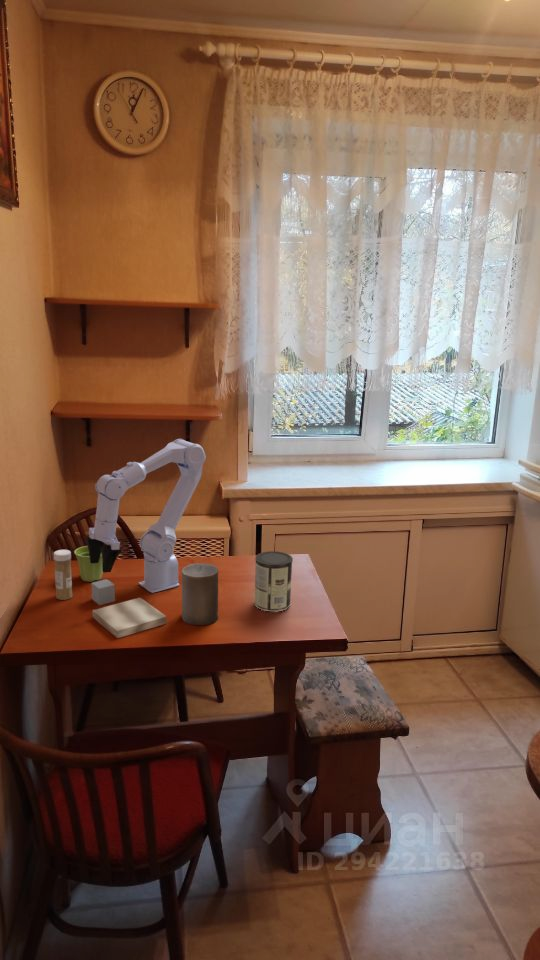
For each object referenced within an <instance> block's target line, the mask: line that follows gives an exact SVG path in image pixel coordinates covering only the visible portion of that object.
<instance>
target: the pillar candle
mask: <svg viewBox="0 0 540 960" xmlns="http://www.w3.org/2000/svg"><path fill="white" fill-rule="evenodd" d="M218 612H219V569H218V567H217V566H216V565H214V564H209V563H203V562H202V563H199V562H198V563H192V564H187V565H186V566H184V567H183V568H182V569H181V618H182V620H183V622H184V623H186V624H188V625H192V626H193V625H194V626H206V625H207V626H208V625H211V624H213V623H215V622H217V621H218V618H219V613H218Z"/></svg>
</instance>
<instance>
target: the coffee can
mask: <svg viewBox="0 0 540 960" xmlns="http://www.w3.org/2000/svg"><path fill="white" fill-rule="evenodd" d="M293 562H294V561H293V557H292V555H290V554H289V553H286V552H283V551H274V550H273V551H272V550H270V551H263V552H260V553H258V554H257V555H256V556H255V570H254V571H255V577H254V579H255V580H254V603H253V605H254V604H255V605H254V606H256V607H257V608H256V607H255V608H256V609H258V608H259V609H261V610H260V611H262V610H264V611H263V612H265V611H274V612H273V613H276V612H275V611H281V610H285V609H287V608H288V607H289V606H290V607H291V597H292V595H291V593H292V591H291V590H292V569H293ZM290 607H289V608H290ZM289 608H288V609H289ZM259 609H258V610H259ZM288 609H287V610H288ZM285 611H286V610H285Z"/></svg>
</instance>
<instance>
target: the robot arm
mask: <svg viewBox="0 0 540 960" xmlns="http://www.w3.org/2000/svg"><path fill="white" fill-rule="evenodd" d="M206 459H207V456H206V453H205V450H204V448H203V447H202V446H201V445H200V444H198V443H193V442H190V441H186V440H185V439H183V438H177V439H175V440H172V441H171V442H169V443H167V445H165V447H163V448H162V449H161V450H159V451H157V452H155V453H154V454H152V455H151V456H149V457H148V458H146V459H145V460H143V461H141V462H138V461H137V462H136V461H132V462H131V461H129V462H127V463H126V465H125V466H123V467H121V468H120V469H118V470H114V471H112V472H111V474H104V475H102V476H100V477H99V478H98V480H97V482H96V483H95V484H94V487H95V491H96V492H97V501H96V502H97V503H96V512H95V520H94V527H89V529H88V535H89V536H87V537H85V538H84V540H85V542H86V546H88V549H89V556H90V563H91V564H92V563H98V562H99V559H100V555H101V553H102V570H103V574H104V573H111V572H112V569H113V567H114V565H115V562H116V560H117V559H118V557H119V555H120V554H121V552H122V551H123V548H121V547H120V546H121V542H120V541H119V540H118V538H117V536H116V531H117V524H118V523H117V522H118V517H119V507H120V501H121V498H122V497H124V495H125V492H127V490H129V489H130V488H133V487H134V486H136V485H137V484H139V483H142V482H143V481H144V480H145V479H146V477H147V474H149V473H151V472H153V471H156V470H158V469H159V468H161V467H164V466H165V465H167V464H169V463H175V464H177V467H178V469H179V472H180V476H179V478H178V481H177V483H176V485H175V487H174V488H173V490H172V493H171V494H170V496H169V498H168V500H167V502H166V504H165V506H164V509H163V510H162V512H161V514H160V516H159V518H158V521H157V522H156V523H154V524H151V525H150V526H149V528H148V529H147V531H146V532H144V534H142V535H141V537H140V539H139V547H140V549H141V551H143V555H144V556H143V560H144V561H143V563H144V566H143V567H144V568H143V570H144V571H143V572H144V573H143V574H144V576H143V578H144V580H143V581H139V582H138V585H139V586H141V587H142V588H144V589H145V590H147V591H148V592H150V593H152V594H155V593H157V592H161V591H165V590H168V589H172V588H177V587H179V586H180V583H179V562H178V558H177V557H176V556H175V554H174V551H175V544H176V541H177V536H176V532H175V531H176V528H177V527H178V525H179V522H180V520H181V519H182V517H183V514H184V512H185V510H186V508H187V506H188V504H189V503H190V500H191V498H192V496H193V494H194V492H195V491H196V488H197V486H198V484H199V482H200V481H201V478H202V476H203V475H202V474H203V467H204V466H203V464H204V463H205V461H206ZM104 545H107V546H104Z"/></svg>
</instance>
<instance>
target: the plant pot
mask: <svg viewBox="0 0 540 960" xmlns="http://www.w3.org/2000/svg"><path fill="white" fill-rule="evenodd" d="M73 552H74V555H75V556H76V559H77V563H78V569H79V575H80V579H81V580H82V581H83V582H90V583H93V582H95V581H101V579H102V578H103V574H104V572H103V570H102V553H101V555H100V559H99V562H98V563H92V564H91V563H90V556H89V549H88V546H87V545H85V546H80V547H78V548H76V549H74V551H73Z"/></svg>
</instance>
